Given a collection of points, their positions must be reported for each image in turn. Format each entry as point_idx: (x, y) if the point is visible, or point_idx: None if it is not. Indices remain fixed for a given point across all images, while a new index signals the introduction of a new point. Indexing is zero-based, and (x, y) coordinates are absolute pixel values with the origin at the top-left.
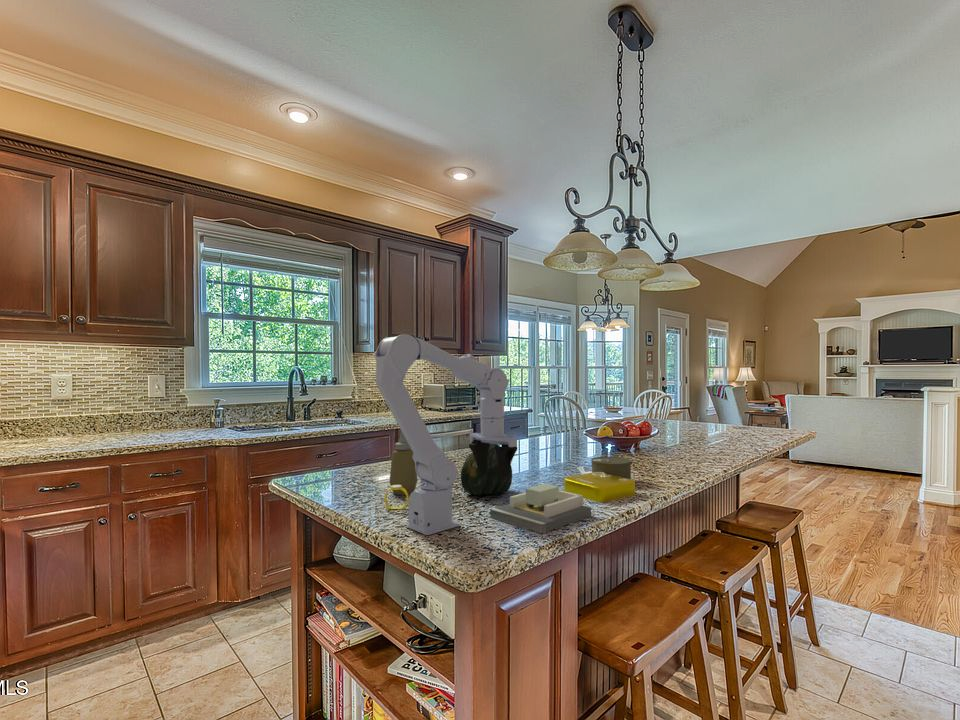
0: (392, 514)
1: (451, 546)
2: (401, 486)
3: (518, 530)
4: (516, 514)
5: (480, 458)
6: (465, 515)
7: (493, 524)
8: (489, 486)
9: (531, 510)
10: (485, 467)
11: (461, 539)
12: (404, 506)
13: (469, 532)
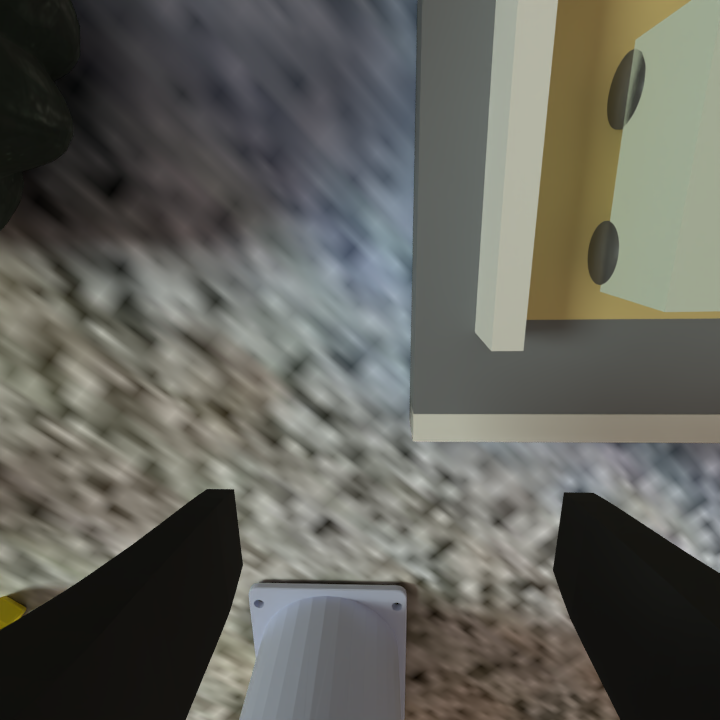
0: None
1: (544, 715)
2: None
3: (649, 457)
4: (601, 410)
5: (165, 702)
6: (291, 477)
7: (496, 476)
8: (53, 154)
9: None
10: (219, 522)
11: (522, 662)
12: (21, 613)
13: (489, 603)
